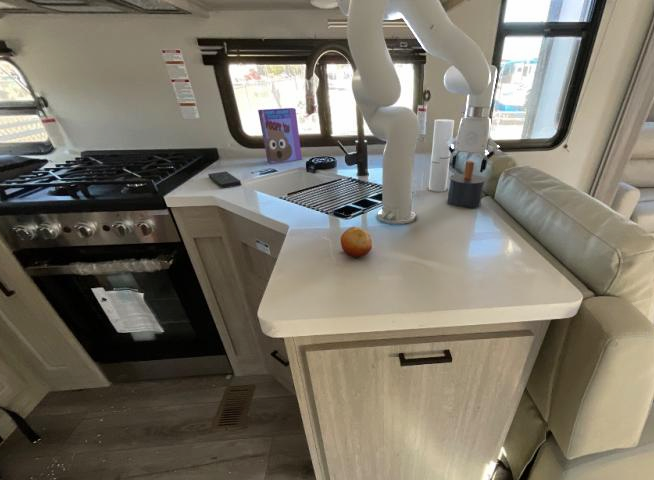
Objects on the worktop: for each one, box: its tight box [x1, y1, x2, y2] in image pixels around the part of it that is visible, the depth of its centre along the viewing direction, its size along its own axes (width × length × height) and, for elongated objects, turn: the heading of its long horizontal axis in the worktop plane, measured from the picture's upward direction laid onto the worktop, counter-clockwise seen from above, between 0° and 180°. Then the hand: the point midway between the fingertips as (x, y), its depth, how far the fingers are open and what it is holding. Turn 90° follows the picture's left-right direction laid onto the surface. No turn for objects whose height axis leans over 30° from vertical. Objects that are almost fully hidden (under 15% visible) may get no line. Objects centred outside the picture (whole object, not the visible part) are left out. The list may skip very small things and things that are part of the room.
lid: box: [449, 160, 487, 185], centre depth 113 cm, size 13×13×7 cm
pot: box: [447, 179, 485, 210], centre depth 117 cm, size 12×12×8 cm
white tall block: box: [428, 118, 455, 193], centre depth 126 cm, size 7×7×25 cm
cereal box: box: [257, 107, 303, 165], centre depth 166 cm, size 17×5×24 cm, turn 130°
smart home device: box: [207, 171, 242, 189], centre depth 139 cm, size 8×2×20 cm
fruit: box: [340, 226, 373, 259], centre depth 83 cm, size 8×8×8 cm
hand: (468, 169), depth 112 cm, fingers open, 9 cm apart
